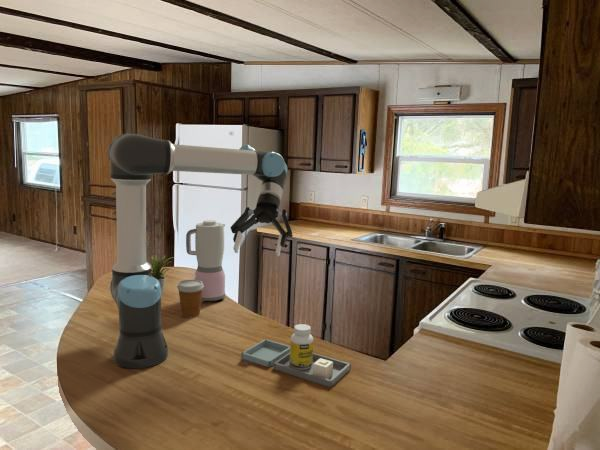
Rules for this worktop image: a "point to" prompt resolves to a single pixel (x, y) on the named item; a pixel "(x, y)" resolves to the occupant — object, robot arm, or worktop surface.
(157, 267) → the house plant
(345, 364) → the charcoal tray
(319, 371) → the letter cube
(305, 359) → the pill bottle
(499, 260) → the worktop surface
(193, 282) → the disposable coffee cup
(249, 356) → the slate tray
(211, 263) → the blender
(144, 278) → the robot arm
